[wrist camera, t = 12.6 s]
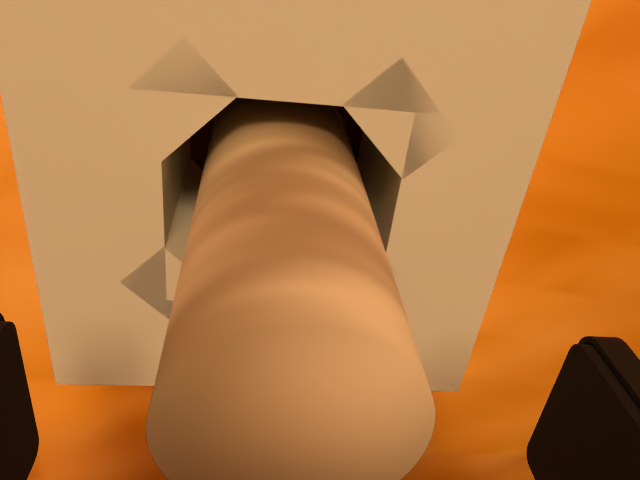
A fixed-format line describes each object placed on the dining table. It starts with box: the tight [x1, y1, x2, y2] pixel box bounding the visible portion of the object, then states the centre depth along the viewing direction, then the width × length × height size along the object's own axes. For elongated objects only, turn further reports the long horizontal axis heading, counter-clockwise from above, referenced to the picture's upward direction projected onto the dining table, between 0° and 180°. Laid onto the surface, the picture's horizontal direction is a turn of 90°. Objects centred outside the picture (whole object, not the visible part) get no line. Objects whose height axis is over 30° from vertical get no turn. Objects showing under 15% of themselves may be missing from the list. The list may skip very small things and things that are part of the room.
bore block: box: [0, 0, 591, 392], centre depth 16 cm, size 12×12×6 cm
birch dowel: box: [146, 97, 435, 480], centre depth 13 cm, size 4×4×12 cm
